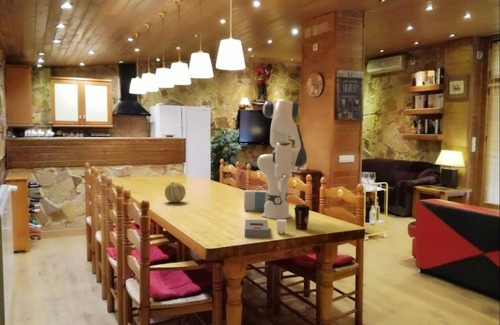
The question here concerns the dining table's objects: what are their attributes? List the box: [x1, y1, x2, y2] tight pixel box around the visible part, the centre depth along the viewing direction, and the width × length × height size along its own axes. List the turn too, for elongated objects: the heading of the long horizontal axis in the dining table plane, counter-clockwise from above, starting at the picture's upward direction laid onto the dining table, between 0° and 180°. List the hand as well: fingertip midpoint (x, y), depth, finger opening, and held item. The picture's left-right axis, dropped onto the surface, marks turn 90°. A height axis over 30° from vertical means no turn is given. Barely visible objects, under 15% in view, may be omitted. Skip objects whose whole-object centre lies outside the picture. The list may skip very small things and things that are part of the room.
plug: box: [275, 219, 288, 235], centre depth 215 cm, size 4×5×7 cm
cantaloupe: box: [164, 181, 186, 203], centre depth 297 cm, size 15×15×15 cm
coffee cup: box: [293, 204, 311, 231], centre depth 225 cm, size 9×8×13 cm
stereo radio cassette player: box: [243, 183, 268, 212], centre depth 274 cm, size 21×8×20 cm, turn 89°
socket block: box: [244, 219, 270, 239], centre depth 217 cm, size 22×12×5 cm, turn 0°
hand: (282, 199), depth 213 cm, fingers open, 8 cm apart
